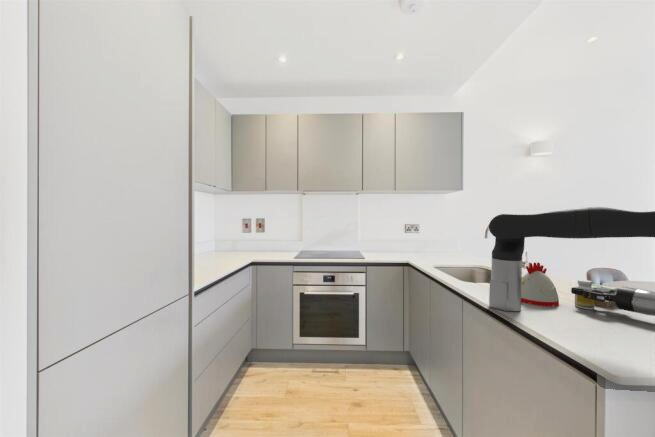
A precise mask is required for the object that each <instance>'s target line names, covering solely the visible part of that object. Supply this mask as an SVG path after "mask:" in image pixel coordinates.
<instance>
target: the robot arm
mask: <svg viewBox="0 0 655 437" xmlns="http://www.w3.org/2000/svg"><path fill="white" fill-rule="evenodd" d="M488 230H489V232H490V234H491V235H492V236H494V237H495V238H494V239H495V242H494V247H493V248H492V252H491V268H490V269H491V271H490V272H491V273H490V275H491V277H490V278H491V279H489V296H488V299H489V300H488V303H489V304H488V306H489V307H491V308H493V309H497V310H500V311H504V312H520V311H521V310H522V302H521V284H522V277H523V274H522V272H523V254H524V251H525V242H526V240H525V238H537V237H539V238H541V237H542V238H554V239H602V238H603V239H604V238H607V239H608V238H655V210H653V211H630V210H624V209H619V208H613V207H605V206H589V207H588V206H587V207H577V208H567V209H560V210H553V211H548V212H542V213H541V212H539V213H533V214H532V213H531V214H516V213H515V214H513V213H501V214H498V215H496V216H494V217H493V218H492V219H491V220H490V222H489V224H488ZM593 288H594V287H593ZM617 288H618V287H617ZM570 291H571V294H572V295H573V294H574V295H575V294H577V295H582V296H583V298H587V299H592V300H596V301H601V302H611V301H614V302H615V303H616V305H615V306H616V307H617V309H619V310H621V311H627V312H631V313H635V314H641V315H645V316H650V317H655V291H652V290H647V289H646V290H645V289H640V288H633V287H628V286H620V287H619V288H618V290H614V289H608V288H603V287H600V288H599V287H596V288H594V289H593V290H587V289H580V288H575V287H571V289H570ZM588 293H590V294H591V296H589V295H588Z"/></svg>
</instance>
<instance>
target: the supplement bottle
mask: <svg viewBox="0 0 655 437" xmlns="http://www.w3.org/2000/svg"><path fill="white" fill-rule="evenodd" d="M592 284H593V281H592V280H589V279H588V280H587V279H577V284H576V286H575V287H574V288H580V289H587V290H593V289H594V288H593V287H591V286H592ZM588 295H589V296H591V294H590V293H588ZM574 307H575V308H578V309H579V308H580V309H582V310H594V309H595V304H594V300H592V299H587V298H583V296H582V295H577V294H574Z"/></svg>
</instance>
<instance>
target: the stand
mask: <svg viewBox="0 0 655 437" xmlns="http://www.w3.org/2000/svg"><path fill="white" fill-rule="evenodd" d="M591 287H594V288H596V287H599V288H600V287H603V288H608V289H614V290H618V287H614V286H613V287H611V286H607V285H600V284H595V283H592V286H591ZM594 305H597V306H602V307H607V308H609V307H612V306H616V303H615V302H614V301H611V302H601V301H596V300H594Z"/></svg>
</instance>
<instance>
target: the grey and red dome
mask: <svg viewBox="0 0 655 437" xmlns="http://www.w3.org/2000/svg"><path fill="white" fill-rule="evenodd" d="M540 263H541V262H533V264H532V263H531V262H529V263H528V264H529V265H526V266H525V268H526V269H525V270H526V271H527V273H526V274H524V275H522V284H521V303H524V304H527V305H528V304H529V305H532V306H537V307H538V306H539V307H557V306H559V303H560V302H559V294H558V291H557V288H556V286H555V284H554V282H553V281H552V280H551V278H550V277H549V276H548V275H547V274H546V273H547V271H548V270H547V269H548V268H545V267H544V265H541V264H540Z"/></svg>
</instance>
